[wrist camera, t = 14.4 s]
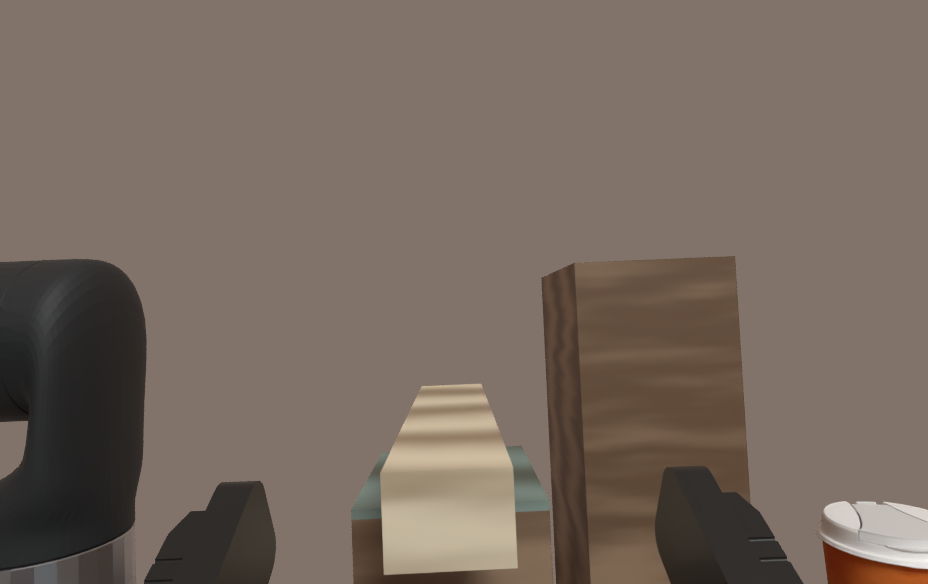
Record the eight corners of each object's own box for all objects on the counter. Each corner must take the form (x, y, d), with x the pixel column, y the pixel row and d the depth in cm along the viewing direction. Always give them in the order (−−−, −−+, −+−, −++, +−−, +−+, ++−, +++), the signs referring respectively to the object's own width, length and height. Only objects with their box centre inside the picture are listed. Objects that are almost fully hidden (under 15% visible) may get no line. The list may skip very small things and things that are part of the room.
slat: (517, 568, 18) (513, 466, 18) (383, 574, 17) (380, 473, 18) (482, 428, 40) (480, 383, 40) (423, 431, 39) (421, 386, 40)
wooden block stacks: (930, 1034, 23) (871, 226, 24) (370, 1069, 23) (342, 248, 24) (679, 654, 49) (657, 273, 50) (416, 667, 49) (401, 283, 50)
